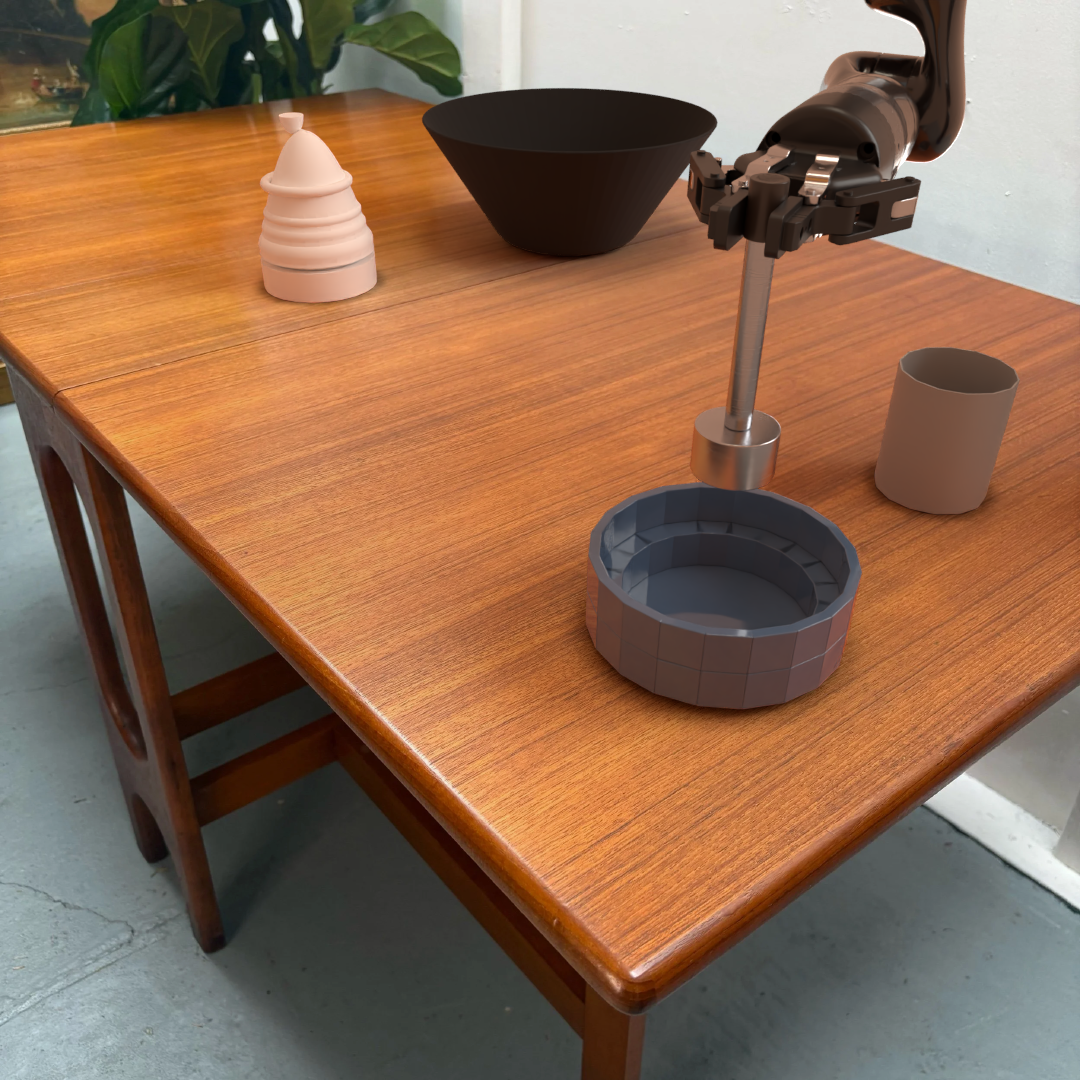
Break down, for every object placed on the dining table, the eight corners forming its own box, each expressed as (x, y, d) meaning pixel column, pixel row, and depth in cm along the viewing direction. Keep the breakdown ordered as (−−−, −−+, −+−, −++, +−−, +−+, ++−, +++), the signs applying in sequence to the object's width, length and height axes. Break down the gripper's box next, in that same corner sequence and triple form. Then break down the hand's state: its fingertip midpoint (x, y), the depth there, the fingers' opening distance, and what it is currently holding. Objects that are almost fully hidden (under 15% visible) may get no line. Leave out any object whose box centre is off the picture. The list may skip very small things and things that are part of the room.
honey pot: (243, 282, 118) (215, 117, 108) (334, 256, 126) (316, 100, 115) (306, 311, 111) (283, 137, 100) (399, 282, 118) (387, 117, 108)
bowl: (738, 220, 139) (751, 102, 130) (650, 307, 112) (660, 166, 103) (505, 188, 151) (503, 79, 142) (375, 260, 124) (364, 131, 116)
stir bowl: (826, 562, 72) (840, 489, 68) (862, 726, 58) (882, 646, 55) (594, 547, 73) (597, 475, 70) (577, 705, 60) (579, 625, 56)
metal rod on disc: (771, 451, 63) (815, 166, 53) (777, 494, 59) (826, 193, 49) (689, 446, 63) (718, 163, 53) (690, 488, 59) (721, 189, 49)
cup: (853, 482, 81) (876, 366, 75) (911, 450, 85) (938, 338, 80) (947, 526, 76) (981, 405, 70) (1005, 490, 80) (1041, 373, 74)
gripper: (733, 80, 63) (622, 138, 51) (965, 103, 58) (906, 174, 45) (720, 202, 68) (614, 284, 55) (935, 233, 62) (874, 332, 50)
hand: (747, 234), depth 50 cm, fingers closed on metal rod on disc
